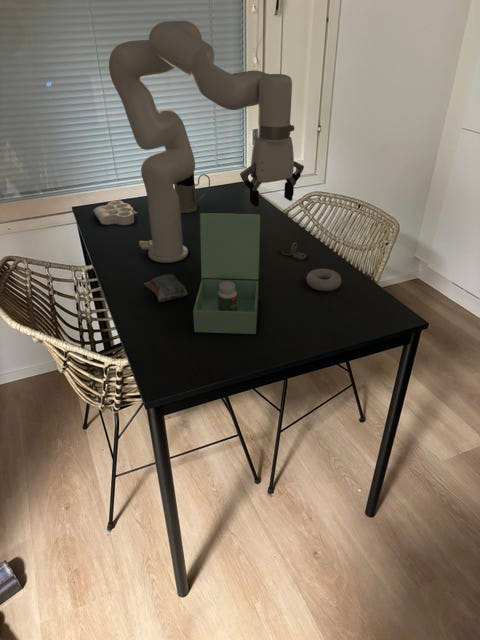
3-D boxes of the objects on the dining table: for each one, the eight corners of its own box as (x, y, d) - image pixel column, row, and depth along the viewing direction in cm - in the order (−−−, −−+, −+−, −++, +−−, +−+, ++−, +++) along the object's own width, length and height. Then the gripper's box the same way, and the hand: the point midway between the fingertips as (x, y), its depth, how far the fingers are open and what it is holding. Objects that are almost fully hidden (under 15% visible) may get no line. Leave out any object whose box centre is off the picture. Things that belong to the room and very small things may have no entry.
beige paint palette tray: (92, 212, 189) (129, 206, 195) (103, 229, 176) (143, 222, 182) (90, 204, 188) (128, 198, 193) (102, 220, 174) (142, 213, 180)
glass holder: (177, 204, 197) (175, 166, 189) (212, 206, 196) (211, 167, 188) (172, 212, 190) (169, 173, 182) (208, 214, 188) (207, 174, 180)
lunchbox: (255, 334, 121) (256, 313, 118) (194, 332, 122) (193, 311, 119) (258, 300, 135) (258, 280, 131) (202, 298, 135) (201, 278, 132)
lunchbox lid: (260, 214, 124) (260, 211, 128) (199, 213, 125) (202, 209, 129) (258, 279, 131) (259, 274, 135) (201, 277, 132) (203, 272, 136)
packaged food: (159, 309, 131) (157, 292, 128) (143, 289, 139) (142, 274, 137) (189, 301, 134) (188, 285, 132) (172, 282, 143) (171, 267, 140)
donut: (299, 281, 144) (319, 296, 136) (299, 271, 142) (320, 285, 134) (327, 274, 148) (348, 288, 140) (328, 263, 146) (349, 277, 138)
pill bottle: (234, 319, 126) (234, 290, 121) (216, 317, 126) (215, 288, 122) (238, 309, 129) (238, 281, 125) (220, 307, 130) (220, 279, 126)
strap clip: (307, 257, 157) (308, 245, 155) (302, 260, 155) (303, 248, 153) (285, 250, 162) (286, 238, 159) (279, 253, 160) (280, 241, 157)
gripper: (297, 125, 124) (293, 193, 133) (234, 132, 118) (234, 202, 127) (313, 132, 118) (308, 201, 127) (247, 139, 112) (247, 211, 121)
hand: (271, 202), depth 127 cm, fingers open, 9 cm apart
